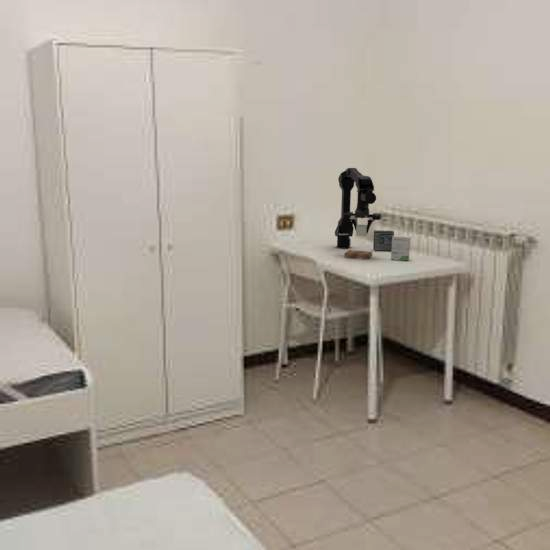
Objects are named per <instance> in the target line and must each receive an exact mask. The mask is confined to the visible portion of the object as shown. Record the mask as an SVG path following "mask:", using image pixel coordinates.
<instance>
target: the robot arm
mask: <svg viewBox="0 0 550 550" xmlns="http://www.w3.org/2000/svg"><path fill="white" fill-rule="evenodd" d="M337 180H338V185H339V188H340V189H341V208H340V209H341V211H340V212H341V213H340V218H339V220H338V221H337V226H336V228H335V230H334V236H336V238H337V241H336V246H335V248H336V247H339V248H338V249H349V248H351V245H352V244H351V240H352V239H351V237H353V235H354V231H356V226H357V225H358V219H364V218H366V219H367V224H366V225H367V233H369V230H370V228H371V226H372V224H373V222H375V221H380V220H383V218H382V217H383V215H382V213H381V212H373V213H372V214H370V208H369V205H371V204H374V203H375V202H376V201H377V196H376V194H375V193H374V192H375V186H374V183H373V179H372V178H371V177H370V176H369V175H364V174H362V173H361V172H360V171H359V170H358V169H357V167H347V168H346V169H345V170H344V171H341V173H340V174H339V176H338V178H337ZM354 187H356V189H357V190H356V192H357V196H356V197H357V200H356V201H357V203H356V207H355V210H354V211H351V196H352V193H351V192H352V190H353V188H354ZM354 229H355V230H354ZM348 247H349V248H348Z"/></svg>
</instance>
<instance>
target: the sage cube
mask: <svg viewBox="0 0 550 550" xmlns="http://www.w3.org/2000/svg"><path fill="white" fill-rule="evenodd" d="M368 233H369V232H368ZM368 233H367V224H357V226H356V230H355V236H356V237H357V236H358V237H367V236H368V235H369V234H368Z"/></svg>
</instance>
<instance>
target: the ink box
mask: <svg viewBox="0 0 550 550" xmlns="http://www.w3.org/2000/svg"><path fill="white" fill-rule="evenodd" d="M410 248H411V236H408V235H407V236H405V235H404V236H403V235H394V236H393V237H392V249H391V251H390V260H391V259H394V260H393V261H400V260H408V261H409V260H410Z"/></svg>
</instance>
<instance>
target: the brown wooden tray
mask: <svg viewBox="0 0 550 550" xmlns="http://www.w3.org/2000/svg"><path fill="white" fill-rule="evenodd" d="M371 256H372V257H373V251H366V250H353V249H349V250H347V251H346V252H345V253H344V258H345V257H346V258H347V259H356V258H362V259H361V260H369V259H370V258H371ZM346 258H345V259H346Z"/></svg>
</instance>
